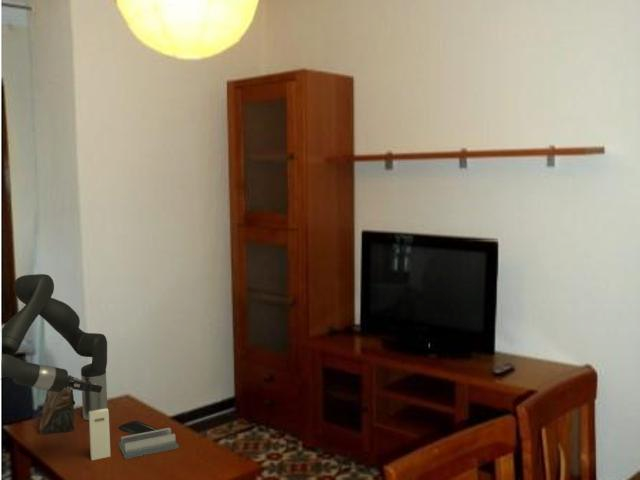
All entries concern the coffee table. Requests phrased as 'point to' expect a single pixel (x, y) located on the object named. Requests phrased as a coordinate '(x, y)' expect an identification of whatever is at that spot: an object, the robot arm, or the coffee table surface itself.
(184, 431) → the coffee table surface
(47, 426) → the owl
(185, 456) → the coffee table surface
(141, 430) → the phone
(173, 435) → the floor track
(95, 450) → the door leaf
